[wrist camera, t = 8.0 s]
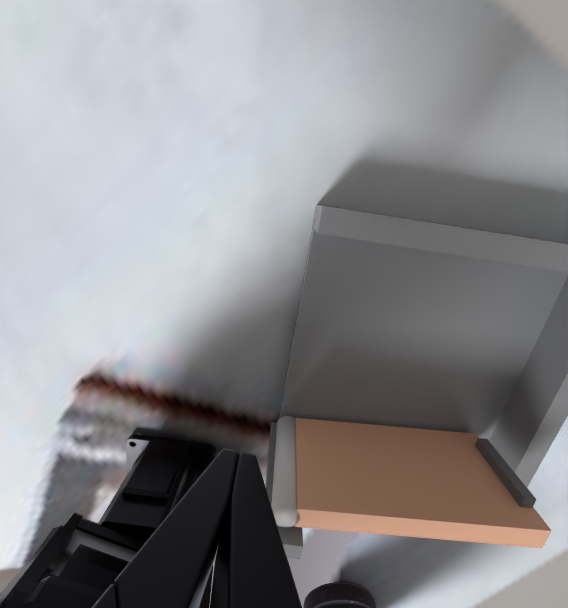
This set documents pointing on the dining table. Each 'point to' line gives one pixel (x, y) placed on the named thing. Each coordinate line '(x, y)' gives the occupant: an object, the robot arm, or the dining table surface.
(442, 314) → the housing
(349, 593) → the camera lens
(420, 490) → the door
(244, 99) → the dining table surface
